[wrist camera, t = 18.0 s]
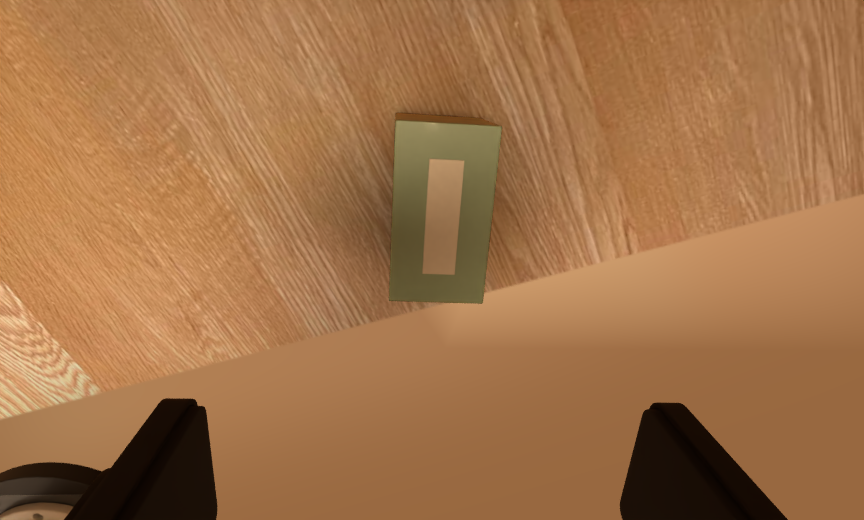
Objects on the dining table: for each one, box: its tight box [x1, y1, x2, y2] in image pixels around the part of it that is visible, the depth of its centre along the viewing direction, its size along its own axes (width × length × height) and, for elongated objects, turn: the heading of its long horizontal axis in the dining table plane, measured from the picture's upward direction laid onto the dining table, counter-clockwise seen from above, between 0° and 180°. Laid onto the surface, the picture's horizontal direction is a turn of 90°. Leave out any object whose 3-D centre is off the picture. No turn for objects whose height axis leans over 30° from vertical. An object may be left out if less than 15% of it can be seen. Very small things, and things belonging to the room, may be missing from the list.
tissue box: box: [389, 113, 502, 304], centre depth 32 cm, size 6×11×7 cm, turn 176°
